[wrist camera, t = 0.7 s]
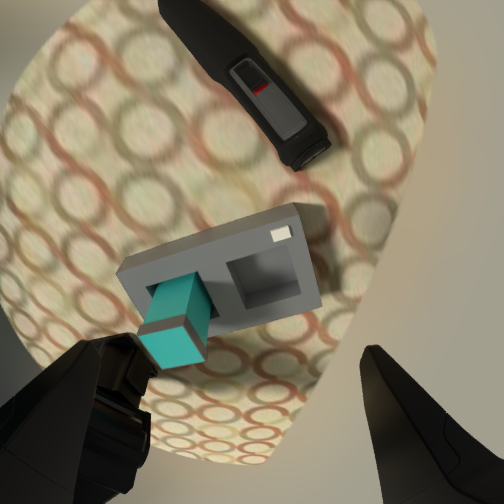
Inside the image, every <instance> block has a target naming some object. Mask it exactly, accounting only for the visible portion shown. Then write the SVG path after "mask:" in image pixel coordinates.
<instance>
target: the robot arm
mask: <svg viewBox="0 0 504 504" xmlns="http://www.w3.org/2000/svg"><path fill="white" fill-rule="evenodd" d="M125 338H126V339H125ZM157 373H158V372H157V371H156V370H155V368H154V367H153V366H152V365H151V363H150V362H149V361H148V359H147V358H146V357H145V356H144V354H143V353H142V352H141V350H140V349H139V348H138V346H137V345H136V344H135V342H134V341H133V340H132V338H131V337H130V336H129V335H128V334H119V335H115V336H110V337H105V338H101V339H96V340H84V339H82V340H80V341H79V342H77V343H76V344H75V345H74V346H72V347H71V348H70V349H69V350H68V351H66V352H65V353H64V354H63V355H62V356H60V357H59V358H58V359H57V360H55V361H54V362H53V363H52V364H51V365H49V366H48V367H47V368H46V369H45V370H43V371H42V372H41V373H40V374H39V375H38V376H36V377H35V378H34V379H33V380H32V381H30V383H28V384H27V385H26V386H25V387H23V388H22V389H21V390H20V391H19V392H18V393H17V394H15V396H13V397H12V398H11V399H10V400H8V401H7V402H6V403H5V404H4V405H2V406H1V407H0V504H105V503H106V502H108V501H109V500H111V499H112V498H114V497H115V496H117V495H118V494H119V493H122V494H126V493H127V492H128V491H129V490H131V489H132V488H133V485H134V480H135V476H136V472H137V469H139V468H140V467H142V465H143V464H144V462H145V460H146V458H147V456H148V452H149V448H150V432H151V413H149V412H147V411H142V410H140V409H139V405H140V401H141V397H142V396H144V395H145V392H146V388H147V384H148V380H149V378H154V377H156V376H157ZM360 375H361V382H362V390H363V398H364V407H365V412H366V417H367V421H368V426H369V430H370V435H371V439H372V444H373V449H374V454H375V459H376V464H377V469H378V474H379V480H380V486H381V492H382V498H383V504H504V459H501V458H499V457H497V456H496V455H495V454H493V453H492V452H491V451H490V450H489V449H487V448H486V447H485V446H484V445H482V444H481V443H480V442H479V441H477V440H476V439H475V438H473V436H471V435H470V434H469V433H468V432H467V431H466V430H464V429H463V428H462V427H461V426H460V425H459V424H458V423H457V422H456V421H455V420H454V419H453V418H452V417H451V416H450V415H449V414H448V413H446V411H445V410H444V409H443V408H442V407H441V406H440V405H439V404H438V403H437V402H436V401H435V400H434V399H433V398H432V397H431V396H430V395H429V394H428V393H427V392H426V391H425V390H424V389H423V388H422V387H421V386H420V385H419V384H418V383H417V382H416V381H415V380H414V379H413V378H412V377H411V376H410V375H409V374H408V373H407V372H406V371H405V370H404V369H403V368H402V367H401V366H400V365H399V364H398V363H397V362H396V361H395V360H394V359H393V358H392V357H391V356H390V355H389V354H388V353H387V352H386V351H385V350H383V348H382V347H380V346H379V345H368V346H366V348H365V349H364V352H363V355H362V358H361V360H360Z"/></svg>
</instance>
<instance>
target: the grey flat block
mask: <svg viewBox="0 0 504 504" xmlns="http://www.w3.org/2000/svg"><path fill="white" fill-rule="evenodd" d="M196 271H198V273H199V275H200V277H201V279H202V281H203V283H204V285H205V287H206V289H207V291H208V293H209V295H210V297H211V299H212V304H211V311H210V319H209V328H208V336H207V338H208V337H213V336H217V335H221V334H225V333H229V332H233V331H237V330H241V329H245V328H249V327H253V326H257V325H260V324H264V323H268V322H272V321H275V320H279V319H282V318H286V317H289V316H293V315H296V314H300V313H303V312H307V311H310V310H313V309H317V308H320V307H322V302H321V298H320V294H319V290H318V286H317V281H316V277H315V273H314V269H313V265H312V261H311V258H310V254H309V250H308V246H307V242H306V238H305V235H304V231H303V227H302V224H301V220H300V216H299V214H298V212H297V210H296V208H295V206H294V204H293V202H292V203H289V204H286V205H283V206H279V207H276V208H273V209H270V210H266V211H263V212H260V213H257V214H254V215H250V216H247V217H244V218H241V219H238V220H235V221H232V222H229V223H226V224H222V225H219V226H216V227H213V228H210V229H207V230H204V231H201V232H198V233H195V234H192V235H189V236H186V237H183V238H181V239H178V240H175V241H172V242H169V243H166V244H163V245H160V246H157V247H154V248H152V249H149V250H146V251H143V252H140V253H137V254H135V255H132V256H129V257H126V258H125V260H124V261H123V263H122V264H121V266H120V267H119V269H118V270H117V272H116V273H115V274H116V276H117V277H118V279H119V281H120V282H121V284H122V286H123V287H124V289H125V291H126V292H127V294H128V296H129V297H130V299H131V300H132V302H133V304H134V305H135V307H136V308H137V310H138V311H139V313H140V315H141V316H142V318H143V319H144V320H145V317H146V314H147V312H148V309H149V307H150V304H151V301H152V299H153V296H154V294H155V291H156V289H157V286H158V284H159V283H160V282H163V281H166V280H170V279H173V278H176V277H180V276H183V275H186V274H190V273H193V272H196Z"/></svg>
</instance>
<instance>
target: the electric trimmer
mask: <svg viewBox="0 0 504 504" xmlns="http://www.w3.org/2000/svg"><path fill="white" fill-rule="evenodd" d="M158 7H159V12H160V14H161V16H162V17H163V19H164V20H165V22H166V23H167V24H168V25H169V26H170V28H171V29H172V30H173V31H174V32H175V34H176V35H177V36H178V37H179V39H180V40H181V41H182V42H183V44H184V45H185V46H186V47H187V49H188V50H189V51H190V52H191V54H192V55H193V56H194V57H195V59H196V60H197V61H198V62H199V64H200V65H201V66H202V68H203V69H204V70H205V71H206V72H207V74H208V75H209V76H210V77H211V78H212V79H213V80H214V81H216V82H218V83H220V84H222V85H223V86H224V87H225V88H226V89H227V90H228V91H229V92H230V93H231V94H232V95H233V96H234V97H235V98H236V99H237V100H238V102H239V103H240V104H241V105H242V106H243V107H244V109H245V110H246V111H247V112H248V113H249V114H250V116H251V117H252V118H253V119H254V120H255V122H256V123H257V124H258V126H259V127H260V128H261V129H262V131H263V132H264V133H265V135H266V136H267V137H268V139H269V140H270V141H271V143H272V144H273V145H274V147H275V148H276V150H277V151H278V154H279V157H280V160H281V162H282V163H283V164H285V165H286V166H290V167H291V168H292V169H293V171H294V172H297V171H298V170H299V169H301V168H302V167H303V166H305V165H306V164H307V163H309V162H310V161H311V160H313V159H314V158H316V157H317V156H318V155H320V154H321V153H322V152H324V151H325V150H326V149H328V148H329V147H330V146H331V145H332V144H331V142H330V141H329V139H328V134H327V130H326V129H325V127H324V126H323V125H322V124H321V123H319V122H318V121H317V120H316V118H315V117H314V116H313V115H312V113H311V112H310V111H309V110H308V109H307V108H306V106H305V105H304V104H303V103H302V102H301V101H300V99H299V98H298V97H297V96H296V95H295V94H294V93H293V91H292V90H291V89H290V88H289V87H288V86H287V85H286V84H285V82H284V81H283V80H282V79H281V78H280V77H279V76H278V75H277V74H276V73H275V71H274V70H273V69H272V68H271V67H270V66H269V65H268V63H267V62H266V61H265V60H264V58H263V57H262V56H261V55H260V54H259V52H258V50H257V48H256V47H255V46H254V45H253V44H252V43H251V42H250V41H249V40H248V39H247V38H246V37H245V36H244V35H243V34H242V33H240V32H239V31H238V30H237V29H236V28H235V27H233V26H232V25H231V24H230V23H229V22H227V21H226V20H225V19H224V18H223V17H221V16H220V15H219V14H218V13H216V12H215V11H214V10H212V9H211V8H210V7H209V6H207V5H206V4H205V3H203V2H202V1H201V0H158ZM299 156H300V157H299Z"/></svg>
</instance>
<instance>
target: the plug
mask: <svg viewBox="0 0 504 504" xmlns="http://www.w3.org/2000/svg"><path fill="white" fill-rule="evenodd" d="M211 304H212V299H211V297H210V295H209V293H208V291H207V289H206V287H205V285H204V283H203V281H202V279H201V277H200V275H199V273H198V271H196V272H193V273H190V274H186V275H183V276H180V277H176V278H173V279H170V280H166V281H163V282H160V283H159V284H158V286H157V289H156V291H155V294H154V296H153V299H152V301H151V304H150V307H149V309H148V312H147V314H146V317H145V320H144V322H143V325H140V327H139V329H138V332H137V335H136V336H137V337H138V339H139V340H140V341H141V343H142V344H143V346H144V347H145V348H146V350H147V351H148V352H149V354H150V355H151V356H152V358H153V359H154V360H155V362H156V363H157V364H158V365H159V367H160V368H161V369H162V370H164V369H170V368H176V367H181V366H187V365H192V364H197V363H202V362H207V354H208V350H207V349H206V344H207V336H208V328H209V319H210V311H211Z"/></svg>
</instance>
